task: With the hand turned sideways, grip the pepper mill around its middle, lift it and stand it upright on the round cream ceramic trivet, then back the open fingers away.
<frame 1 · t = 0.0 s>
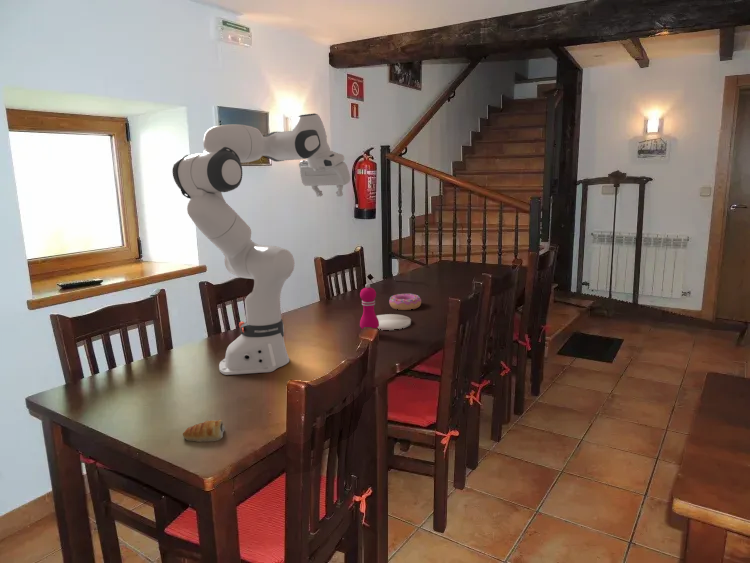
hand: (329, 196, 196), 52 cm above the table, tool tilted 20°, fingers open, 8 cm apart
trivet: (388, 323, 215), on the table
donut: (405, 307, 240), on the table
pepper mill: (369, 336, 201), on the table
pastry: (207, 437, 128), on the table
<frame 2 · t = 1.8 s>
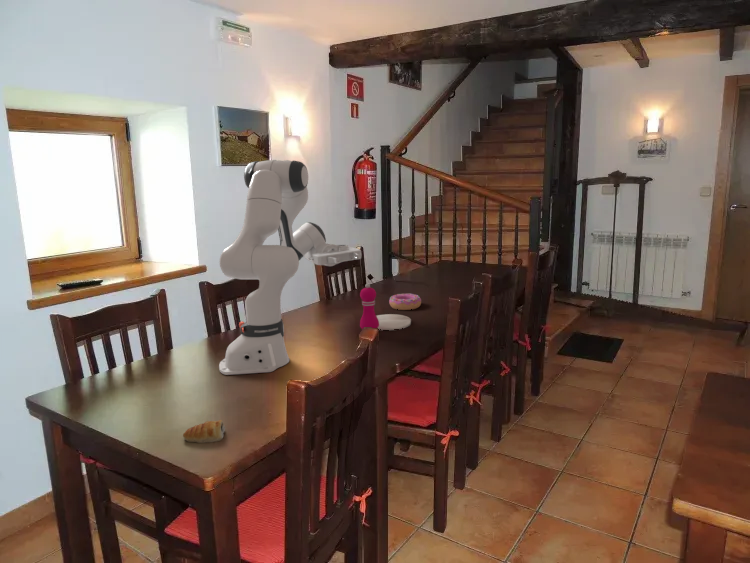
hand: (348, 258, 204), 28 cm above the table, tool horizontal, fingers open, 8 cm apart
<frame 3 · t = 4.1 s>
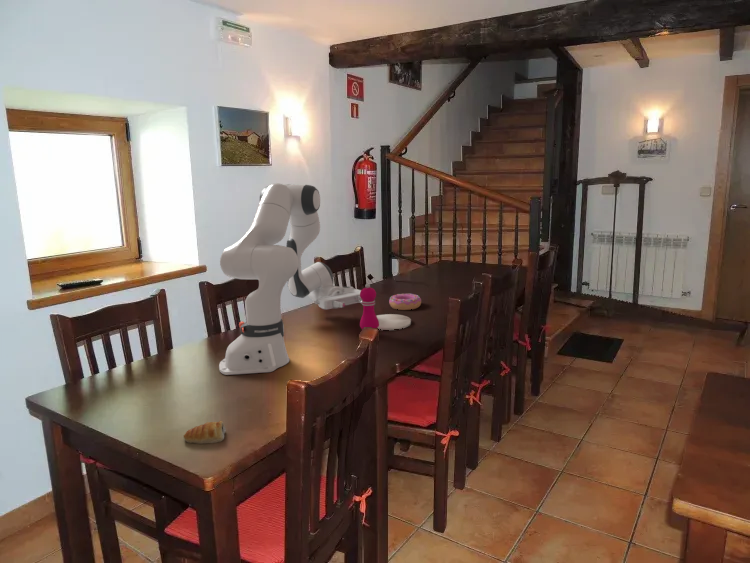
hand: (353, 303, 206), 11 cm above the table, tool horizontal, fingers open, 8 cm apart
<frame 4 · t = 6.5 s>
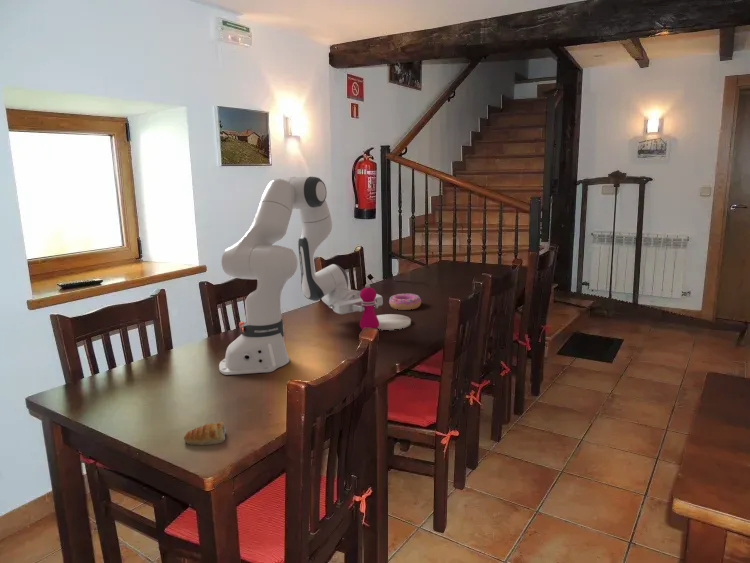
hand: (370, 307, 198), 11 cm above the table, tool horizontal, fingers closed on pepper mill, 5 cm apart
pepper mill: (369, 336, 201), on the table, touching gripper
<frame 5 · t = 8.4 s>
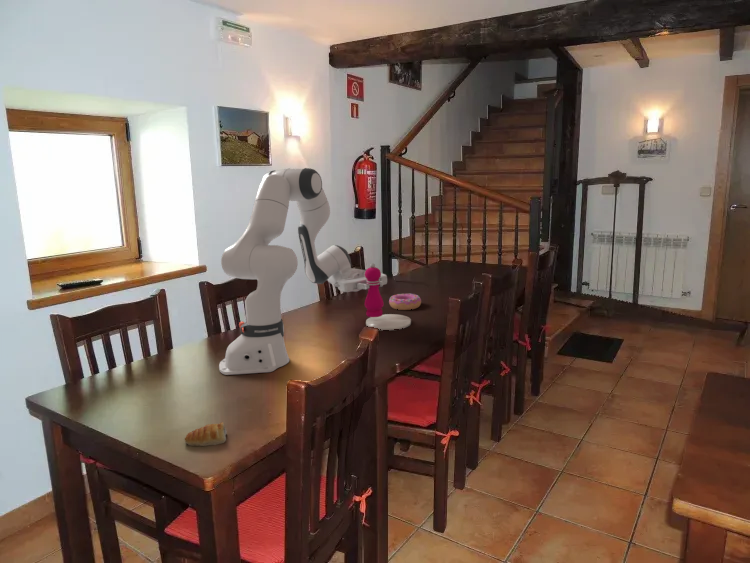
hand: (374, 285, 200), 18 cm above the table, tool horizontal, fingers closed on pepper mill, 5 cm apart
pepper mill: (374, 315, 203), point 7 cm above the table, touching gripper
when the fingers open (14 cm above the table, at t = 10.7 s): pepper mill stays where it is, resting on trivet.
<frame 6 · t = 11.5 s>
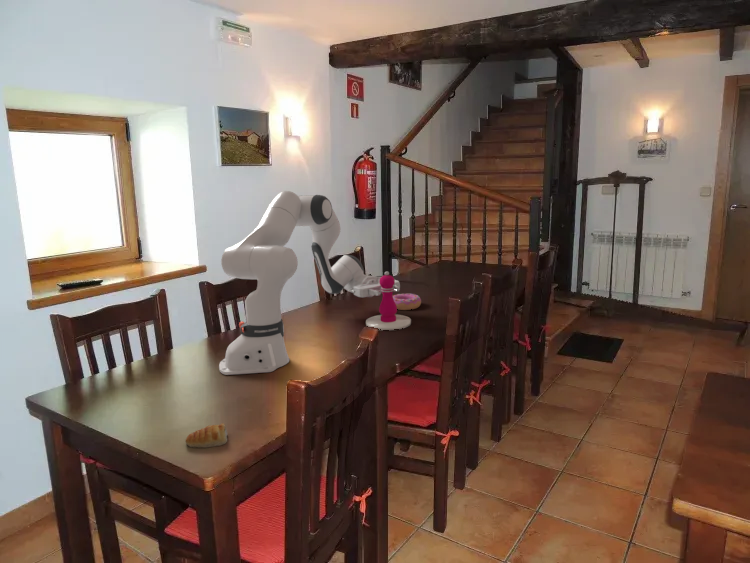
hand: (388, 291, 211), 14 cm above the table, tool horizontal, fingers open, 8 cm apart
pepper mill: (388, 320, 214), point 1 cm above the table, touching trivet
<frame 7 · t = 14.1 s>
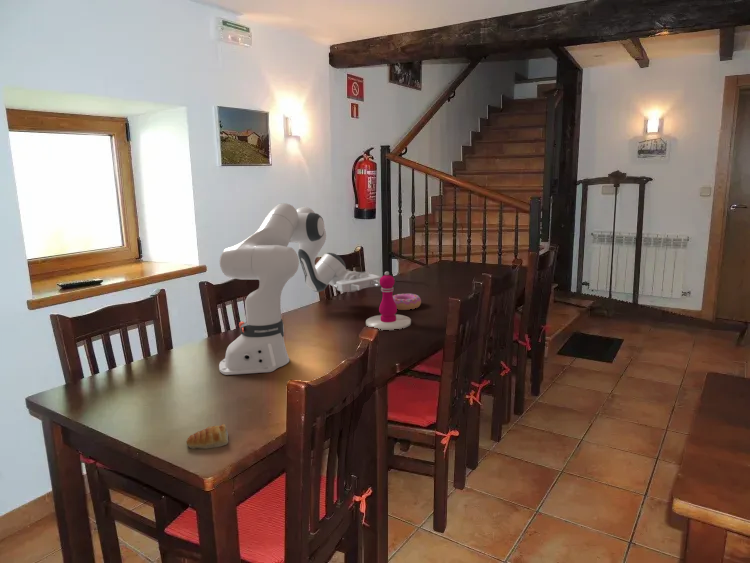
hand: (369, 286, 221), 14 cm above the table, tool horizontal, fingers open, 8 cm apart
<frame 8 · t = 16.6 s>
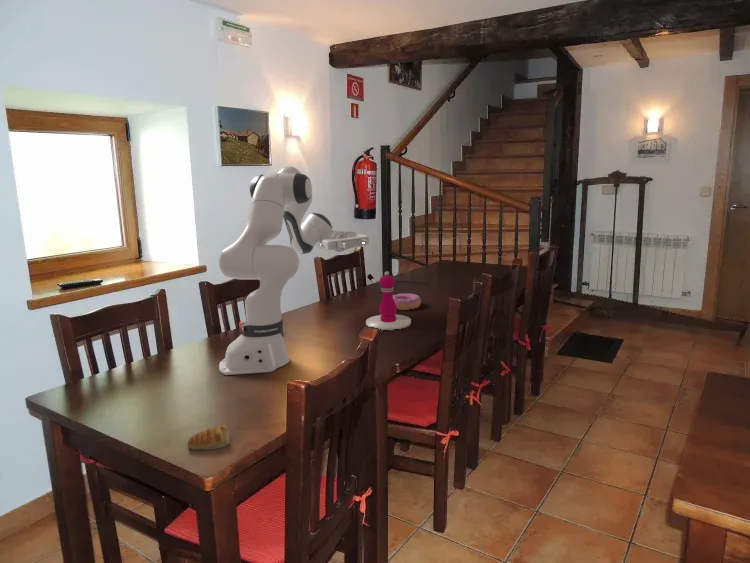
hand: (356, 244, 213), 32 cm above the table, tool horizontal, fingers open, 8 cm apart
at the end: pepper mill inside the target area on the trivet (0.1 cm from its centre), point 1.3 cm above the trivet's base; pepper mill tilted 0°; the gripper is holding nothing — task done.
